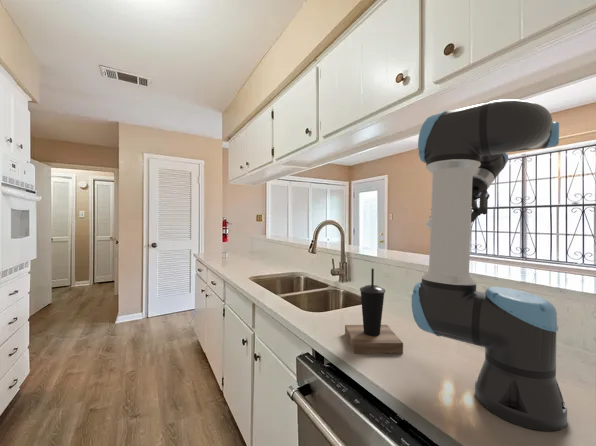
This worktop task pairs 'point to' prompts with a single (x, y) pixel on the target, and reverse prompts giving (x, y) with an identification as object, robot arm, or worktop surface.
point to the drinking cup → (372, 307)
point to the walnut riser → (373, 341)
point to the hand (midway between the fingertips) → (443, 227)
